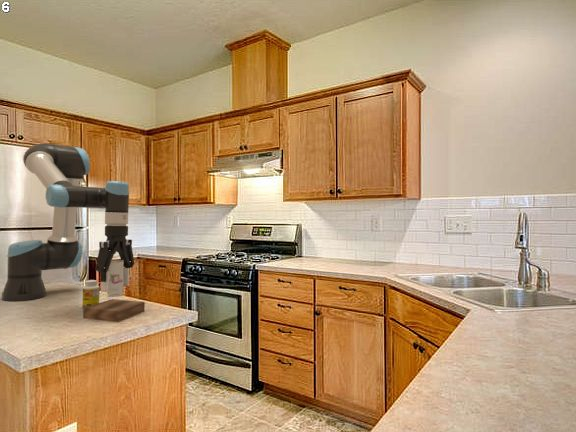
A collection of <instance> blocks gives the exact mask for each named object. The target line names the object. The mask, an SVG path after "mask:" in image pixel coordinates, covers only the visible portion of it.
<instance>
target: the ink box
mask: <svg viewBox="0 0 576 432" xmlns="http://www.w3.org/2000/svg"><path fill="white" fill-rule="evenodd" d="M124 268H125V267H124V260H121V259H118V260H117V259H116V260H112V261H111V263H110V266H109V269H108V271H107V272H109V291H107V298H118V297H120V298H121V297H123V295H124V291H125V290H124V287H125V286H124Z"/></svg>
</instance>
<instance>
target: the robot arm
mask: <svg viewBox="0 0 576 432" xmlns="http://www.w3.org/2000/svg"><path fill="white" fill-rule="evenodd" d="M22 159H23V164H24V166H25V167H26V169H27V170H28V171H29V172H30V173H32V174H34V175H35V176H36V177H37V178H38V179H39V181H40V182H41V184H42V185H43V187H44V188H45V189H46V190H45V200H46V204H47V205H48V206H49V207H53V217H52V218H53V219H52V230H51V235H50V236H48V237H47V241H46V242H43V241H42V239H41V240H40V239H35V240H25V241H24V240H23V241H18V242H13V243H12V244H10V245H9V246H8V250H7V255H6V257H7V275H6V276H7V277H6V278H7V280H6V283H5V285H4V288H3V290H2V293H1V300H2V301H8V302H19V301H20V302H21V301H31V300H36V299H40V298H44V297H46V296H47V289H46V288H45V284H44V281H43V278H42V273H43V272H42V271H48V270H49V271H51V270H60V269H64V270H67V269H72V268H75V267H77V266H78V265H79V263H80V262H81V260H82V257H83V245H82V243H81V242H80V241H79V238H77V236H76V221H77V208H85V209H86V208H88V209H89V208H90V209H104V211H105V212H104V225H105V226H104V236H105V237H106V240H105V241H99V242H98V243H99V246H98V247H99V249H98V252H97V253H98V254H97V258H96V264H95V272H97V273H100V276H99V277H100V278H99V280H100V291H101V292H108V291H109V272H107V271H108V269H109V266H110V263H111V261H113V258H114V255H116V253H118V255H119V257H120V260H124V287H129V286H130V275H131V269H132V268H133V267H134V265H135V257H134V252H133V247H132V246H133V245H132V244H133V239H129V238H126V237H127V236H128V235H129V225H128V224H129V205H130V202H129V201H130V190H129V189H130V188H129V183H128V182H126V181H119V180H118V181H117V180H108V181H107V182H105V187H95V186H81V185H80V182H81V181H83V180H84V176H86V175H88V174H89V172H90V169H91V164H90V162H91V161H90V157H89V155H88V153H87V151H86V150H85V149H83V148H81V147H76V146H68V145H62V144H55V143H54V144H52V143H49V142H45V143H44V142H42V143H41V142H40V143H37V144H34V145H32V146H29V148H28V149H27V150H26V151H25V152H24V154H23V158H22Z"/></svg>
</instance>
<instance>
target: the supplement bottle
mask: <svg viewBox="0 0 576 432" xmlns="http://www.w3.org/2000/svg"><path fill="white" fill-rule="evenodd" d="M98 303H100V285H98V280H95V279H89V280H85V282H84V286H83V287H82V308H85V307H88V306H91V305H95V304H98Z"/></svg>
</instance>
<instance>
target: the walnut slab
mask: <svg viewBox="0 0 576 432" xmlns="http://www.w3.org/2000/svg"><path fill="white" fill-rule="evenodd" d="M145 304H146V303H145V301H137V300H127V299H116V298H111V299H108V300H104V301H101V302H99V303H98V304H95V305H91V306H88V307H85V308H83V307H82V308H83V316H82V318H83V319H88V320H95V321H104V322H105V321H106V322H107V321H108V322H114V323H120V322H122V321H125V320H128V319H129V318H132V317H135V316H137V315H139V314H142V313H144V312H145V309H146V305H145Z"/></svg>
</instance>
